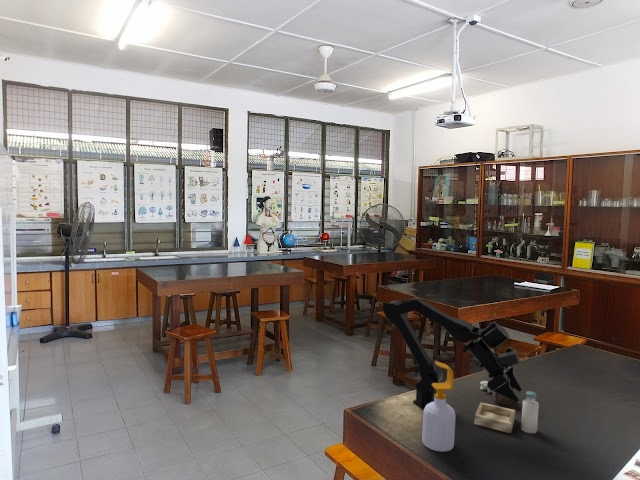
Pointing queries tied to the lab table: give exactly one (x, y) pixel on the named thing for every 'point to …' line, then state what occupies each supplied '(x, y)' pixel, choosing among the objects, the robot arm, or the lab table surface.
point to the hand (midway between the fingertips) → (519, 395)
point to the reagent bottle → (530, 413)
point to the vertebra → (485, 386)
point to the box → (502, 398)
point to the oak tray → (495, 417)
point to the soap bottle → (439, 417)
